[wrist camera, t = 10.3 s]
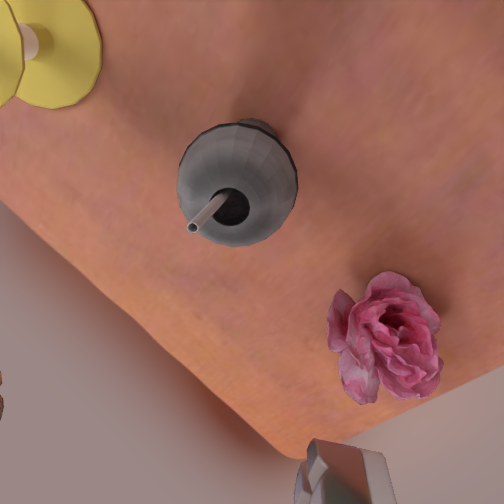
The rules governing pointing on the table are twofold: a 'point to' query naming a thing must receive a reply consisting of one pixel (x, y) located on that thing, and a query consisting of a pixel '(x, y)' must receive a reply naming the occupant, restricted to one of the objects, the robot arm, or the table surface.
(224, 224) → the beverage cup
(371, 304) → the flower
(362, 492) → the robot arm
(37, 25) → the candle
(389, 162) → the table surface
